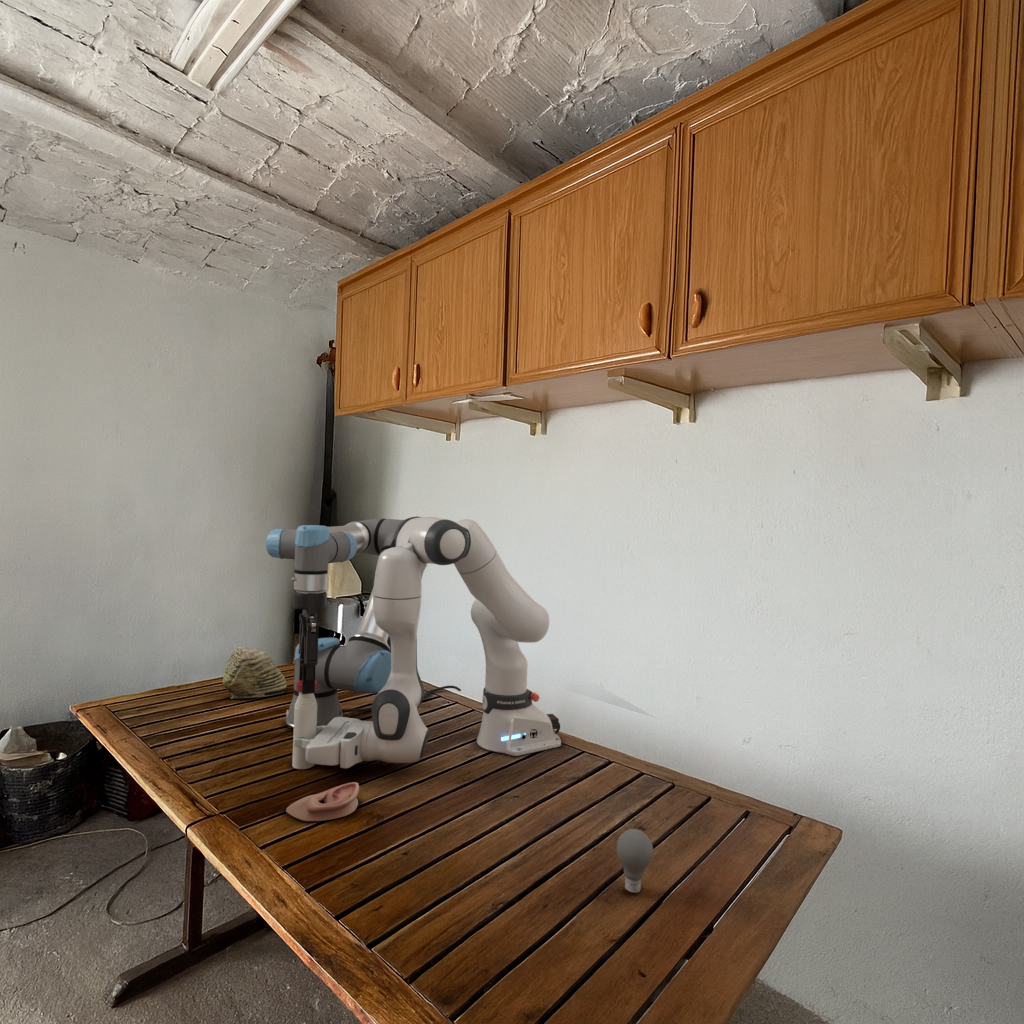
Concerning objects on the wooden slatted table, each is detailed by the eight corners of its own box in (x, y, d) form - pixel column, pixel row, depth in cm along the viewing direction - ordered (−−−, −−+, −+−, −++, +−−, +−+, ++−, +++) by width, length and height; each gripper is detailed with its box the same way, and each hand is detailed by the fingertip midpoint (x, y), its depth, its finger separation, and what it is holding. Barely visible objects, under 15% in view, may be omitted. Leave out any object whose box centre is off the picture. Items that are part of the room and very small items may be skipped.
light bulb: (610, 879, 108) (613, 822, 108) (644, 879, 109) (647, 822, 109) (619, 902, 102) (622, 840, 102) (655, 901, 103) (658, 840, 103)
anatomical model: (278, 797, 124) (308, 772, 135) (277, 817, 124) (307, 791, 136) (340, 806, 122) (366, 781, 133) (339, 827, 122) (365, 799, 133)
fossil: (218, 695, 195) (220, 647, 195) (278, 685, 208) (279, 640, 207) (228, 703, 189) (230, 653, 188) (289, 692, 201) (290, 645, 201)
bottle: (307, 770, 146) (310, 688, 146) (287, 767, 147) (290, 686, 147) (319, 762, 151) (322, 682, 151) (300, 758, 152) (303, 680, 152)
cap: (312, 685, 152) (312, 678, 152) (319, 690, 148) (319, 683, 148) (293, 688, 149) (293, 680, 149) (300, 693, 146) (300, 685, 146)
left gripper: (288, 586, 155) (285, 681, 155) (298, 597, 139) (294, 703, 139) (320, 585, 158) (317, 678, 158) (333, 596, 142) (329, 699, 143)
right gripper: (371, 712, 159) (317, 708, 159) (345, 743, 138) (283, 739, 139) (370, 737, 159) (316, 733, 159) (344, 771, 138) (282, 767, 139)
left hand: (306, 689), depth 149 cm, fingers closed on cap, 4 cm apart
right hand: (300, 736), depth 149 cm, fingers closed on bottle, 5 cm apart
